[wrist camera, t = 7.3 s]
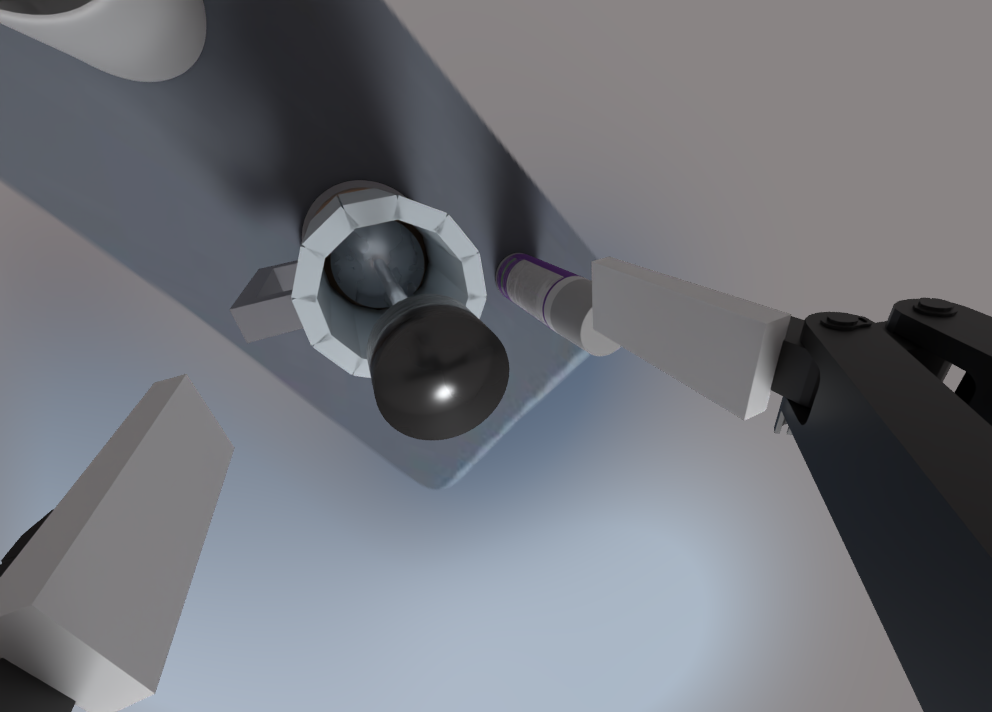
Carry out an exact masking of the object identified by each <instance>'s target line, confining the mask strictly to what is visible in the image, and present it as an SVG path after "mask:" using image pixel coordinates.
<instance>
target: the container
mask: <svg viewBox="0 0 992 712" xmlns="http://www.w3.org/2000/svg"><path fill="white" fill-rule="evenodd" d="M495 280H496V285H497V288H498V290H499V291H500V293H501V294H502V295H504V296H505V297H506V298H508V299H509V300H511V301H512V302H514V303H515V304H516V305H518V306H519V307H521V308H522V309H524V310H525V311H526V312H528V313H529V314H531V315H532V316H533V317H535V318H536V319H538V320H539V321H541V322H542V323H543V324H545V325H546V326H548V327H549V328H551V329H552V330H553V331H555V332H557V333H558V334H560V335H562V336H563V337H565V338H566V339H568V340H569V341H571V342H573V343H574V344H576V345H577V346H579V347H580V348H582V349H584V350H585V351H587V352H588V353H590V354H592V355H595V356H605V355H608V354H611V353H613V352H615V351H616V350H618V349H619V348H620V347H621V346H620V345H619V344H617V343H615V342H614V341H612V340H610V339H609V338H607V337H605V336H604V335H602V334H601V333H599V332H597V331H596V330H594V329H593V312H592V281H590V280H588V279H585V278H584V277H581V276H579V275H576V274H574V273H571V272H569V271H566V270H564V269H561V268H559V267H557V266H554V265H552V264H549V263H547V262H544V261H542V260H539V259H537V258H534V257H532V256H530V255H527V254H524V253H514V254H511V255H509V256H507V257H506V258H504V259H503V260H502V262H501V263H500V264H499V266H498V268H497V271H496V277H495Z"/></svg>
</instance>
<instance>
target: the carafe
mask: <svg viewBox="0 0 992 712" xmlns="http://www.w3.org/2000/svg"><path fill="white" fill-rule="evenodd" d="M393 220H394V221H397V222H398V223H400V224H402V225H403V226H404V227H406V228H407V229H408V230H409V231H410V232H411V233H412V234H413V235H414V236H415V238H416V239H417V241H418V242H419V244H420V246H421V249H422V252H423V256H424V273H423V278H422V280H421V283H420V285H419V287H418V288H417V290H416V291H415V292H414V293H413V294H412V295H411V296H415V295H420V294H439V295H445V296H448V297H451V298H453V299H455V300H457V301H459V302H461V303H462V304H463V305H465V306H466V307H467V308H468V309H469V310H470V311H471V312H472V313H473V314H474V315H475V316H476V317H477V318H478V319H480V316H481V313H482V310H483V307H484V304H485V301H486V297H485V296H487V294H486V288H485V282H484V276H483V270H482V264H481V258H480V253H478V250H477V248H476V247H475V246H474V245H473V244H472V242H471V241H470V240H469V239H468V237H467V236H466V235H465V234H464V232H463V231H462V230H461V229H460V228H459V226H458V225H457V224H456V223H455V221H454V220H453V219H452V218H451V217H450V215H449V214H447V213H445V212H442V211H440V210H437V209H434V208H432V207H429V206H426V205H424V204H421V203H418V202H416V201H413V200H410V199H408V198H406V197H405V196H404V195H402V194H401V193H400V192H398V191H396V190H395V189H393V188H391V187H389V186H387V185H384V184H381V183H378V182H373V181H368V180H353V181H347V182H343V183H340V184H337V185H335V186H332V187H331V188H329V189H328V190H326V191H325V192H323V193H322V194H321V195H320V196H319V197H318V198H317V199H316V200H315V201H314V202H313V204H312V206H311V207H310V209H309V210H308V213H307V215H306V217H305V220H304V224H303V229H302V244H301V248H300V253H299V258H298V260H297V261H293V262H288V263H284V264H279V265H275V266H270V267H266V268H261V269H258V271H257V272H256V274H255V275H254V276H253V278H252V279H251V281H250V282H249V283H248V285H247V286H246V288H245V289H244V290H243V292H242V293H241V294H240V296H239V297H238V299H237V300H236V301H235V303H234V304H233V306H232V307H231V308H230V311H231V313H232V315H233V317H234V319H235V321H236V323H237V325H238V327H239V328H240V330H241V332H242V334H243V336H244V338H245V340H246V342H247V343H250V342H254V341H258V340H261V339H265V338H269V337H272V336H276V335H280V334H284V333H287V332H291V331H295V330H298V329H302V328H304V330H305V332H306V334H307V337H308V339H309V341H310V344H311V345H313V348H315V349H316V350H318V351H319V352H320V353H322V354H323V355H324V356H326V357H327V358H329V359H330V360H331V361H333V362H334V363H336V364H337V365H338V366H340V367H341V368H343V369H344V370H345V371H347V372H348V373H350V374H352V373H353V375H354V376H361V377H368V378H371V375H370V370H369V366H368V360H367V344H368V339H369V336H370V333H371V331H372V329H373V327H374V325H375V323H376V322H377V320H378V319H379V318H380V317H381V315H382V314H383V313H384V312H385V311H386V310H388V309H389V308H390V307H387V308H373V307H368V306H365V305H362V304H359V303H357V302H356V301H354V300H352V299H351V298H349V297H348V296H347V295H346V294H345V293H344V292H343V291H342V290H341V289H340V287H339V286H338V284H337V283H336V281H335V278H334V276H333V273H332V269H331V252H332V251H333V250H334V249H335V248H336V247H337V246H338V245H339V244H340V243H341V242H342V241H343V240H344V239H345V238H346V237H347V236H348V235H349V234H350V233H351V232H352V231H353V230H354V229H355V228H360V227H365V226H369V225H374V224H379V223H384V222H388V221H393ZM411 296H410V297H411Z"/></svg>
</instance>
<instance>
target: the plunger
mask: <svg viewBox="0 0 992 712" xmlns="http://www.w3.org/2000/svg"><path fill="white" fill-rule="evenodd" d="M331 269H332V273H333V276H334V278H335V281H336V283H337V284H338V286H339V287H340V289H341V290H342V291H343V292H344V293H345V294H346V295H347V296H348V297H349V298H351V299H352V300H354V301H356V302H357V303H359V304H362V305H365V306H368V307H373V308H387V307H390V308H389V309H388V310H386V311H385V312H384V313H383V314H382V315H381V317H380V318H379V319H378V320H377V322H376V323H375V325H374V327H373V329H372V331H371V333H370V336H369V339H368V344H367V360H368V366H369V370H370V375H371V380H372V385H373V389H374V394H375V399H376V402H377V406H378V408H379V410H380V412H381V414H382V415H383V417H384V418H385V420H386V421H387V422H388V423H389V424H390V425H391V426H392V427H393V428H395V429H396V430H397V431H399V432H401V433H403V434H405V435H407V436H410V437H413V438H416V439H422V440H443V439H448V438H452V437H455V436H459V435H461V434H463V433H466V432H468V431H470V430H471V429H473V428H475V427H476V426H478V425H479V424H480V423H482V422H483V421H484V420H485V419H486V418H487V417H488V416H489V415H490V414H491V413H492V412H493V411H494V410H495V408H496V407H497V406H498V404H499V402H500V401H501V399H502V397H503V395H504V393H505V390H506V387H507V383H508V378H509V362H508V357H507V354H506V351H505V348H504V346H503V345H502V343H501V341H500V340H499V339H498V337H497V336H496V335H495V334H494V333H493V332H492V331H491V330H490V329H489V328H488V327H487V326H486V325H485V324H484V323H483V322H482V321H481V320H480V319H478V318H477V317H476V316H475V315H474V314H473V313H472V312H471V311H470V310H469V309H468V308H467V307H466V306H465V305H463V304H462V303H461V302H459V301H457V300H455V299H453V298H451V297H448V296H445V295H439V294H420V295H415V296H411V295H412V294H413V293H414V292H415V291H416V290H417V288H418V287H419V285H420V283H421V280H422V278H423V273H424V256H423V252H422V249H421V246H420V244H419V242H418V241H417V239H416V238H415V236H414V235H413V234H412V233H411V232H410V231H409V230H408V229H407V228H406V227H404V226H403V225H402V224H400V223H398V222H397V221H394V220H393V221H388V222H384V223H379V224H374V225H369V226H365V227H360V228H355V229H354V230H353V231H352V232H351V233H350V234H349V235H348V236H347V237H346V238H345V239H344V240H343V241H342V242H341V243H340V244H339V245H338V246H337V247H336V248H335V249H334V250H333V251H332V252H331ZM410 296H411V297H410Z"/></svg>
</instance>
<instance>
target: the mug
mask: <svg viewBox="0 0 992 712" xmlns="http://www.w3.org/2000/svg"><path fill="white" fill-rule="evenodd" d="M0 23H1V24H3V25H5V26H8V27H10V28H12V29H14V30H16V31H19V32H21V33H23V34H25V35H27V36H29V37H32V38H34V39H36V40H38V41H40V42H43V43H45V44H47V45H49V46H51V47H54V48H56V49H58V50H60V51H62V52H64V53H67V54H69V55H71V56H73V57H75V58H77V59H79V60H81V61H83V62H85V63H87V64H89V65H91V66H93V67H95V68H97V69H99V70H102V71H104V72H107V73H109V74H112V75H115V76H118V77H121V78H125V79H129V80H134V81H142V82H159V81H164V80H169V79H172V78H174V77H177V76H179V75H181V74H183V73H184V72H186V71H187V70H188V69H189V68H191V67H192V66H193V65H194V63H195V62H196V61H197V59H198V58H199V56H200V54H201V52H202V50H203V46H204V43H205V38H206V13H205V7H204V3H203V0H0Z"/></svg>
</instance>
